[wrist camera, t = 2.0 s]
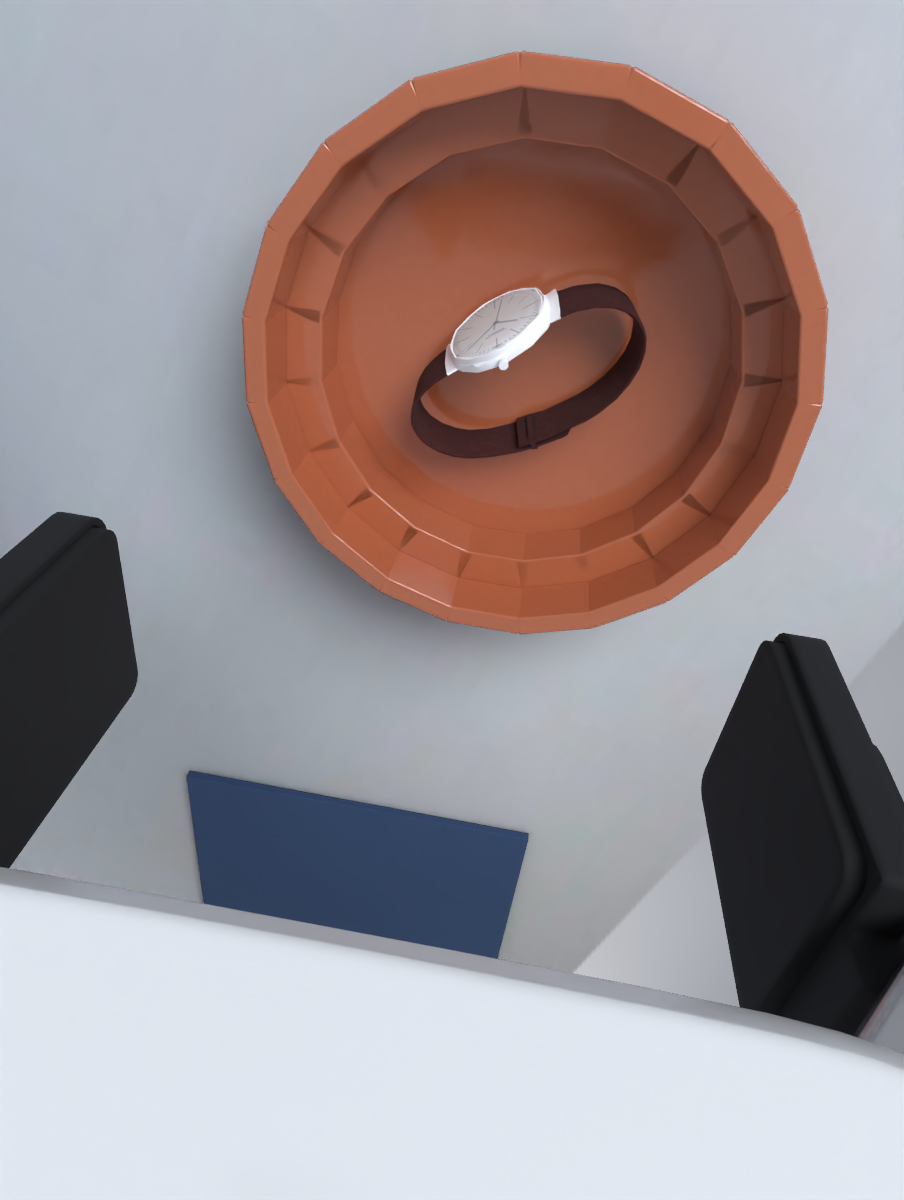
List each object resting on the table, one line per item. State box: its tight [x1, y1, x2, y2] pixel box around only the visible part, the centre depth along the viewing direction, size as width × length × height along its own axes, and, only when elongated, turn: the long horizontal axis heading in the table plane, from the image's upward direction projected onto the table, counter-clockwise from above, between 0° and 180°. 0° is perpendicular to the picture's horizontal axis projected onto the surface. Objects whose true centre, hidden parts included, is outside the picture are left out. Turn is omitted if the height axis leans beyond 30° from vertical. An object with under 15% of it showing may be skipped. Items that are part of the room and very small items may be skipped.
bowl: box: [242, 51, 828, 634], centre depth 24 cm, size 16×16×4 cm
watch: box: [411, 283, 647, 459], centre depth 24 cm, size 8×5×4 cm, turn 119°
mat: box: [187, 771, 528, 959], centre depth 44 cm, size 18×14×1 cm
